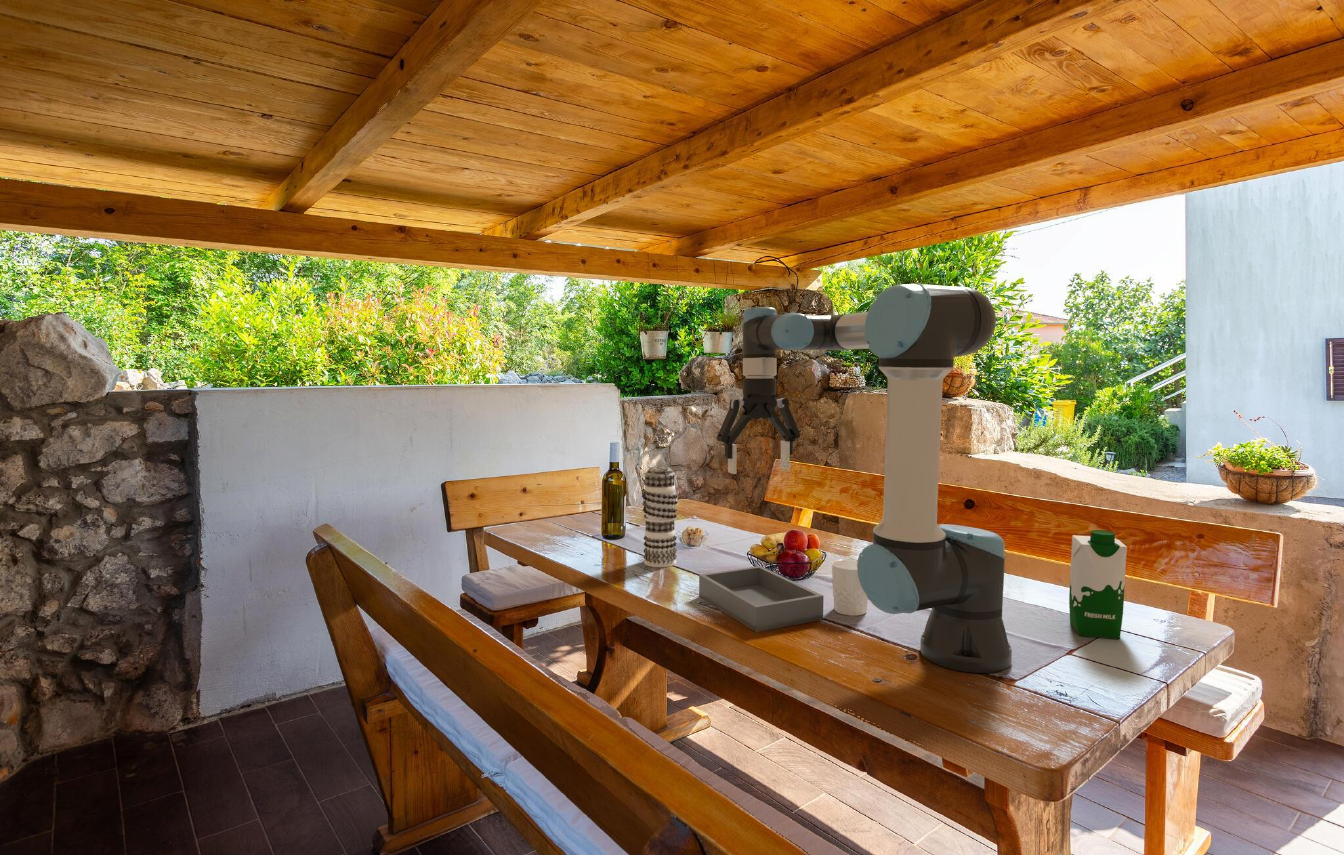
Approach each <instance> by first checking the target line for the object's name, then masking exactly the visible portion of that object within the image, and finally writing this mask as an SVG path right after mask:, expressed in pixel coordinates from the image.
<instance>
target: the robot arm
mask: <svg viewBox="0 0 1344 855" xmlns="http://www.w3.org/2000/svg"><path fill="white" fill-rule="evenodd" d="M742 318H743V319H742V320H743V321H742V324H741V325H742V326H741V327H742V375H743V376H744V377H745V378H743V379H742V396H743V398H742V400H739V399H733V398H732V399H730V400H729V406H728V407H729V408H728V411H727V414H726V415H725V418H724V420H723V421H722V422H723V423H722V424H721V427H720V428H719V429H720V430H719V431H718V433H717V436H716V441H717V442H721V443H723V444H724V458H725V459H727V473H728V474H733V475H737V470H738V469H737V466H738V465H737V464H738V463H737V460H738V459H737V456H738V454H737V450H738V448H737V444H735V441H736V440H737V438H739V436H740V434H741V433H742V432H743V430H744V429H745V428H746V426H748V424H749V422H751V421H752V420H760V419H763V420H769V421H770V422H771V424H772V426H773V427H774V428H775V429H776V430H777V432H778V433H779V434H780V436H781V438H782V439H784V440H780V470H784V471H790V467H791V466H790V465H791V464H790V463H791V462H790V459H791V458H790V456H792V455H793V442H795V441H796V439H799V438H801V432H800V430H799V427H798V426H797V423H796V421H795V418H794V416H793V414H792V411H791V410H790V405H789V399H788V398H787V397H786V398H785V397H779V398H778V399H777V398H776V395H777V379H776V376H777V372H778V371H777V351H841V352H842V351H851V350H864V349H866V350H867V349H868V350H869V351H870V352H871V353H872V354H873V355H875V356H876V357H878V370H879V371H880V372H882V374H884V375H885V377H886V378H887V390H886V391H887V393H886V394H887V395H886V422H885V449H884V450H885V451H884V457H885V458H884V480H883V482H884V483H883V505H882V506H883V507H882V508H883V509H882V520H881V521H879V523H877V525H875V526H873V529H872V531H873V532H872V543H871V544H869V545H867V546H866V547H864V548H863V549H862V551H861V552H860V553H859V554H858V558H857V560H858V562H857V571H858V577H859V581H860V584H861V586H862V589H863V591H864V592H865V593H866V595H867V597H868V601H869V602H871V604H873V606H874V607H876V609H878V610H879V611H881V612H883V613H886V614H889V615H898V614H900V615H901V614H913V613H915V612H918V611H919V612H920V611H924V610H928V609H931V611H930V613H929V616H928V618H927V621H926V624H925V627H924V631H923V632H922V634H921V637H920V647H919V648H920V649H919V650H920V654H921V655H922V656H923V657H924V658H925V659H926V660H928V661H929V662H932V663H933V664H935V665H938V666H939V667H940V666H941V667H943V668H946V669H950V670H954V671H960V672H965V673H974V674H976V673H977V674H986V673H987V674H989V673H996V672H1002V671H1004V670H1006V669H1009V667H1010V666H1011V665H1012V661H1013V660H1012V657H1013V655H1012V654H1013V650H1012V646H1011V644H1010V643H1009V640H1008V636H1007V632H1006V628H1005V624H1004V620H1003V606H1004V605H1003V603H1004V602H1003V601H1004V584H1005V583H1004V582H1005V580H1004V579H1005V565H1006V564H1005V563H1006V562H1005V561H1006V556H1005V555H1006V554H1005V541H1004V539H1003V538H1002V537H1001V535H999V534H998V533H995V532H993V531H990V530H986V529H982V528H977V527H971V526H966V525H959V524H958V525H957V524H949V523H948V524H947V523H945V524H943V523H942V524H938V523H937V522H938V500H939V476H940V457H941V456H940V454H941V453H940V452H941V434H942V433H941V432H942V431H941V430H942V410H943V409H942V408H943V407H942V405H943V387H944V386H943V385H944V384H943V383H944V382H943V380H944V379H945V377H946V376H948V375H949V374H950V373H951V372H952V371H953V370H954V360H955V357H958V358H959V357H965V356H969V355H972V354H974V353H976V352H978V351H980V350H981V349H982V348H984V347H985V346H986V345H987V344H988V342H990V340H991V338H992V337H993V335H994V334H995V328H996V325H997V316H996V311H995V308H994V306H993V304H992V302H991V301H990V300H989V298H987V297H986V295H984V294H983V293H982V292H980V291H978V290H976V289H974V288H970V287H967V286H949V285H937V284H936V285H935V284H925V283H924V284H923V283H909V284H908V283H907V284H896V285H892V286H889V287H887V288H885V289H884V290H882V291H881V292H880V293H879V294H878V295H877V298H876V299H875V300H873V302H872V303H871V305H870V307H869V309H868V311H862V312H852V313H844V314H832V315H831V314H826V315H825V314H824V315H823V314H822V315H821V314H820V315H819V314H803V313H799V312H786V313H782V314H777V309H776V308H774V307H769V306H760V307H758V306H757V307H748V308H746V309H744V311H743V316H742ZM774 376H775V377H774ZM776 407H777V408H778V409H779V412H780V415H781V416H782V418H783V421H784V423H783V421H782V420H781V419H780V417H779V415H778V413H777V412H776V411H775V409H776ZM741 408H742V409H743V412H742V413H741V414H740V416H739V418H738V420H737V421H736V423H735V420H736V418H737V416H738V414H739V411H740V410H741ZM734 423H735V424H734ZM733 425H734V426H733Z"/></svg>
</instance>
